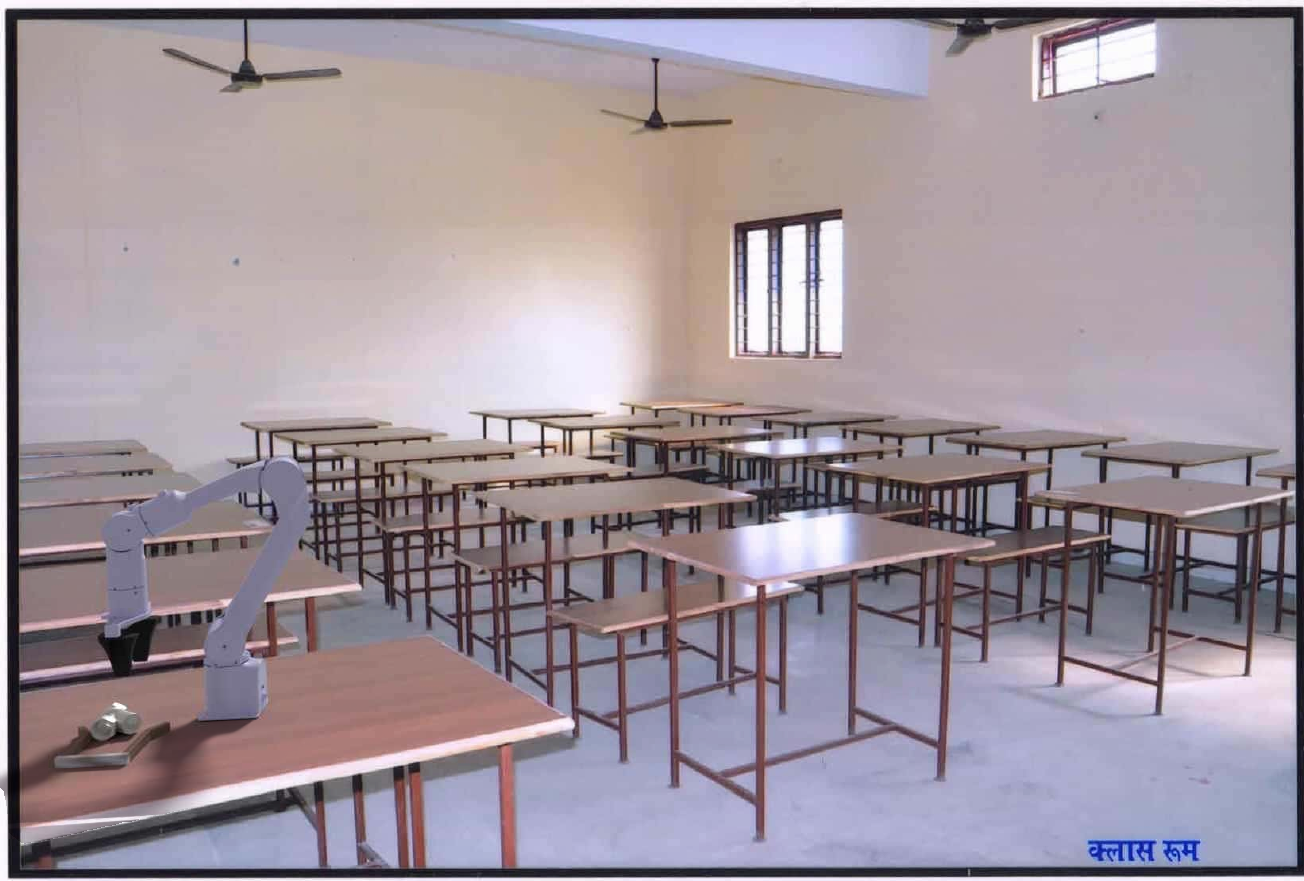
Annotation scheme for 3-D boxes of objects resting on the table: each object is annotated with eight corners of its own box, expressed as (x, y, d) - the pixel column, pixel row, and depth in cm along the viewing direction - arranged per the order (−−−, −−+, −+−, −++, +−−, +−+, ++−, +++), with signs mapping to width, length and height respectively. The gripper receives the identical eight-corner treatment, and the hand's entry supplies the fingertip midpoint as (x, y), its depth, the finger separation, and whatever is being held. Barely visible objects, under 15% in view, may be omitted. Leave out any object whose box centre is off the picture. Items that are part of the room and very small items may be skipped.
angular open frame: (171, 730, 163) (171, 721, 163) (141, 764, 150) (140, 754, 150) (79, 735, 161) (79, 725, 161) (40, 769, 148) (40, 759, 148)
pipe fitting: (136, 714, 160) (89, 718, 158) (138, 738, 160) (90, 743, 159) (149, 699, 168) (103, 703, 166) (150, 722, 168) (105, 726, 166)
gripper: (118, 577, 170) (123, 656, 172) (81, 598, 156) (86, 684, 157) (162, 575, 171) (167, 654, 173) (130, 596, 157) (135, 682, 158)
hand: (131, 668), depth 165 cm, fingers open, 7 cm apart
